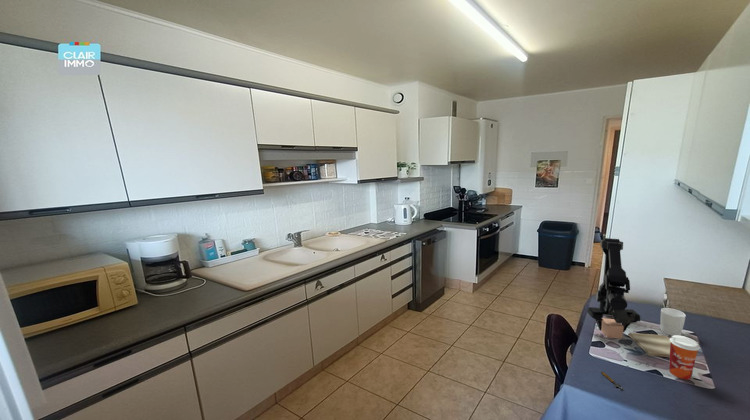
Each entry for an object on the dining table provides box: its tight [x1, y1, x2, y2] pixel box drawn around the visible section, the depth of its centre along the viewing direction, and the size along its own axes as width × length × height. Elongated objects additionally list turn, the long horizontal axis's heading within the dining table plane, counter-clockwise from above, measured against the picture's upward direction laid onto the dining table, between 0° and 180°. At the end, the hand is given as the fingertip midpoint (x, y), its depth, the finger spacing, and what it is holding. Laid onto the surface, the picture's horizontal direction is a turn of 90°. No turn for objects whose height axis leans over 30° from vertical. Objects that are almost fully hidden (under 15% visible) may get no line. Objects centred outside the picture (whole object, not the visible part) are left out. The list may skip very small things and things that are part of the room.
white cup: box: [659, 307, 686, 337], centre depth 134 cm, size 8×8×10 cm
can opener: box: [600, 371, 624, 391], centre depth 108 cm, size 9×2×1 cm, turn 179°
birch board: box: [628, 332, 671, 358], centre depth 126 cm, size 14×14×1 cm
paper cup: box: [668, 335, 701, 380], centre depth 109 cm, size 8×8×14 cm
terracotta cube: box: [601, 318, 624, 339], centre depth 135 cm, size 6×6×6 cm
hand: (611, 330), depth 135 cm, fingers open, 9 cm apart
